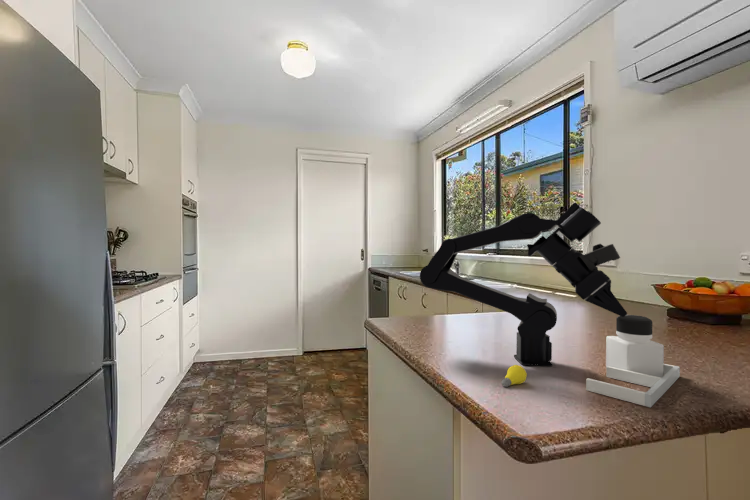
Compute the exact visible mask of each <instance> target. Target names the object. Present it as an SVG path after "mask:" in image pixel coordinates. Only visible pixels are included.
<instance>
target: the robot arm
mask: <svg viewBox="0 0 750 500" xmlns="http://www.w3.org/2000/svg"><path fill="white" fill-rule="evenodd" d="M601 224H602V223H601V221H600V220H599V219H598V218H597V217H596V216H595V215H594V214H593V213H592V212H591V211H589V210H586V209H585V208H584V207H582V206H581V205H579V204H577V203H576V202H573V203H572V204H571V205H570V206H569V207H568V208H567V210H566V211H565V212H563V214H562V215H560V216H559V217H558V218H557V219H552V218H550V219H547V218H540V217H539V215H537V214H536V213H532V212H525V213H522V214H519V215H518V216H515V217H513V218H511V219H509V220H507V221H506V222H503V223H501V224H500V225H497V226H494V227H490V228H489V227H488V228H487V229H483V230H479V231H475V232H471V233H468V234H464V235H461V236H455V237H453V238H447V239H444V240H443V241H442V243H441V245H440V247H439V248H438V250H437V251H436V252H435V254H434V255H433V256H432V258H431V259H430V260H429V262H428V264H427V265H425V266H423V268H422V269H421V270H420V272H419V280H420V282H421V284H422V285H423V287H425V288H427V289H432V290H433V289H434V290H437V291H444V292H445V291H446V292H454V293H456V294H459V295H461V296H464V297H465V298H466V297H467V298H469V299H472V300H474V301H478V302H480V303H482V304H485V305H488V306H489V307H493V308H496V309H498V310H500V311H503V312H506V313H509V314H510V315H513V316H514V318H516V319H518V320H519V321H520V323H519V324H518V326H517V331H518V332H517V331H516V354H513V357H514V359H515V360H517V361H518V362H519V364H521V365H523V366H546V367H547V366H548V367H552V366H553V362H551V361H552V358H553V357H552V356H553V355H552V354H553V353H552V352H553V343H552V341H550V335H549V334H547V332H548V331H551V330H552V329H554V327H555V326H556V324H557V321H558V314H557V313H558V312H557V310H556V307H555V306H554V305H553V304H552V303H550V302H548V298H540V297H538V296H536V295H535V294H532V293H528V294H527V295H526V298H524V297H517V296H515V295H511V294H509V293H507V292H504V291H501V290H497V289H496V288H492V287H490V286H487V285H484V284H482V283H479V282H476V281H473V280H470V279H467V278H465V277H462V276H461V275H459V274H458V273H456V272H455V271H454V270H452V269H451V268H452V267H453V264H454V263H455V259H456V257H457V255H458V254H459V253H462V252H467V251H469V250H474V249H478V248H479V249H480V248H483V247H486V246H490V245H495V244H498V243H502V242H512V241H514V242H515V241H527V240H528V241H529V240H534V239H536V238H538V237H539V238H538V239H537V240H536V241H535V242H534V243H533V244H532V243H531V244H530V243H527V244H526V247H527V256H528V257H531V256H534V254H535V253H536V252H537V253H538V255H540V256H541V258H543V259H544V260H545V261H546V262H547V263H548V265H549V264H550V265H551V266H552V268H554V269H555V271H556V272H557V273H558V274H560V276H562V277H563V278H565V280H566V281H567V282H569V284H570V285H571V286H572V287H573V288H575V289H574V291H575V294H577V295H578V296H579V297H580V298H581V299H582V300H584V301H585V302H587V303H590V304H593V305H594V306H597V307H599V308H601V309H603V310H606V311H608V312H610V313H613V314H615V315H617V316H622V317H624V316H625V315H628V311H626V309H625V308H624V307H623V305H622V304H621V303H620V301H619V299H618V298H617V297H616V295H614V293H613V292H612V291H611V287H612V279H611V277H610V276H608V275H607V274H606V273H605V272H604V271H603V270H600V269H599V268H598V266H600V265H602V264H605V263H608V262H610V261H613V262H614V261H616V260H619V259H621V257H620V254H619V253H618V251H617V249H616V246H615V245H614V243H611V244H607V245H603V244H602V243H598V244H595V245H592V250H591V251H590V252H588V253H585V254H583V253H582V252H581V251H577V249H575V248H574V247H573V246H571V245H570V244H569V243H568V242H567V241H566V240H565V239H564V238H566V239H567V240H568V241H570V242H571V243H574V241H575V240H576V241H577V242H579V243H580V242H581V241H583V240H584V239H585V238H586V237H587V236H588V235H589V234H591V233H592V232H593V231H594V230H595V229H596V228H598V227H599V226H600V225H601ZM556 227H558V228H557V229H555V228H556ZM554 229H555V230H554ZM553 230H554V231H553ZM552 231H553V232H552ZM548 232H552V233H551V234H550V235H549V236H547V238H546V237H545V236H544V235H542V236H541V234H542V233H543V234H544V233H548ZM558 233H561V235H563V236H564V238H563V237H562V236H561V235H559V234H558Z"/></svg>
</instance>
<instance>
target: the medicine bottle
mask: <svg viewBox="0 0 750 500" xmlns="http://www.w3.org/2000/svg"><path fill="white" fill-rule="evenodd" d="M615 324H616V325H615V326H616V329H615V331H616V335H607V336H606V338H605V339H606V342H605V343H606V344H605V368H606V367H607V366H610V367H614V368H619V369H624V370H628V371H633V372H638V373H642V374H647V375H651V376H656V377H661V378H662V377H663V376H664V364H665V363H664V360H665V355H664V354H665V347H664V344H662V343H659V342H658V341H654V340H652V339H653V321H652V319H650V318H649V317H646V316H643V315H636V314H635V315H634V314H627V315H625V316H624V317H622V316H619V315H617V317H616V323H615Z"/></svg>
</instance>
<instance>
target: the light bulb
mask: <svg viewBox="0 0 750 500" xmlns="http://www.w3.org/2000/svg"><path fill="white" fill-rule="evenodd" d="M527 376H528V373H527V371H526V369H525V368H524V367H523V366H521V365H518V364H513V365H511V366H509V367H508V369H507V372H506V375H505V376H504V379H502V380H501V385H502V386H503V387H504V388H508V387H509V386H512V385H520V384H522V383H525V382H526V380H527Z"/></svg>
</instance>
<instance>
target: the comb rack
mask: <svg viewBox="0 0 750 500" xmlns="http://www.w3.org/2000/svg"><path fill="white" fill-rule="evenodd" d="M605 368H606V369H605V371H606V372H605V373H606V375H605V376H606V377H605V378H609V379H614V380H618V381H622V382H626V383H627V382H628V383H632V384H635V385H640V386H644V387H647V388H649V389H648V390H647V391H642V390H637V389H633V388H629V387H625V386H622V385H617V384H614V383H609V382H605V381H601V380H597V379H594V378H589V377H588V378H586V380H585V391H588V392H592V393H595V394H599V395H603V396H607V397H610V398H615V399H617V400H622V401H625V402H629V403H632V404H636V405H640V406H644V407H647V408H652V407H653V406H654V405H655V404H656V402H658V400H659V399H660V398H661V397H662V396H663V395H664V394H665V393H666V392H667V391H668V390H669V389H670V387H671V386H672V385H673V384H674V383H675V382H676V381H677V380H678V379H679V378H680V374H681V373H680V371H681V370H680V369H681V368H680V366H678V365H672V364H667V363H664V376H663V377H662V378H661V377H656V376H651V375H647V374H642V373H638V372H633V371H628V370H624V369H619V368H614V367H610V366H607V367H606V366H605Z"/></svg>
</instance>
